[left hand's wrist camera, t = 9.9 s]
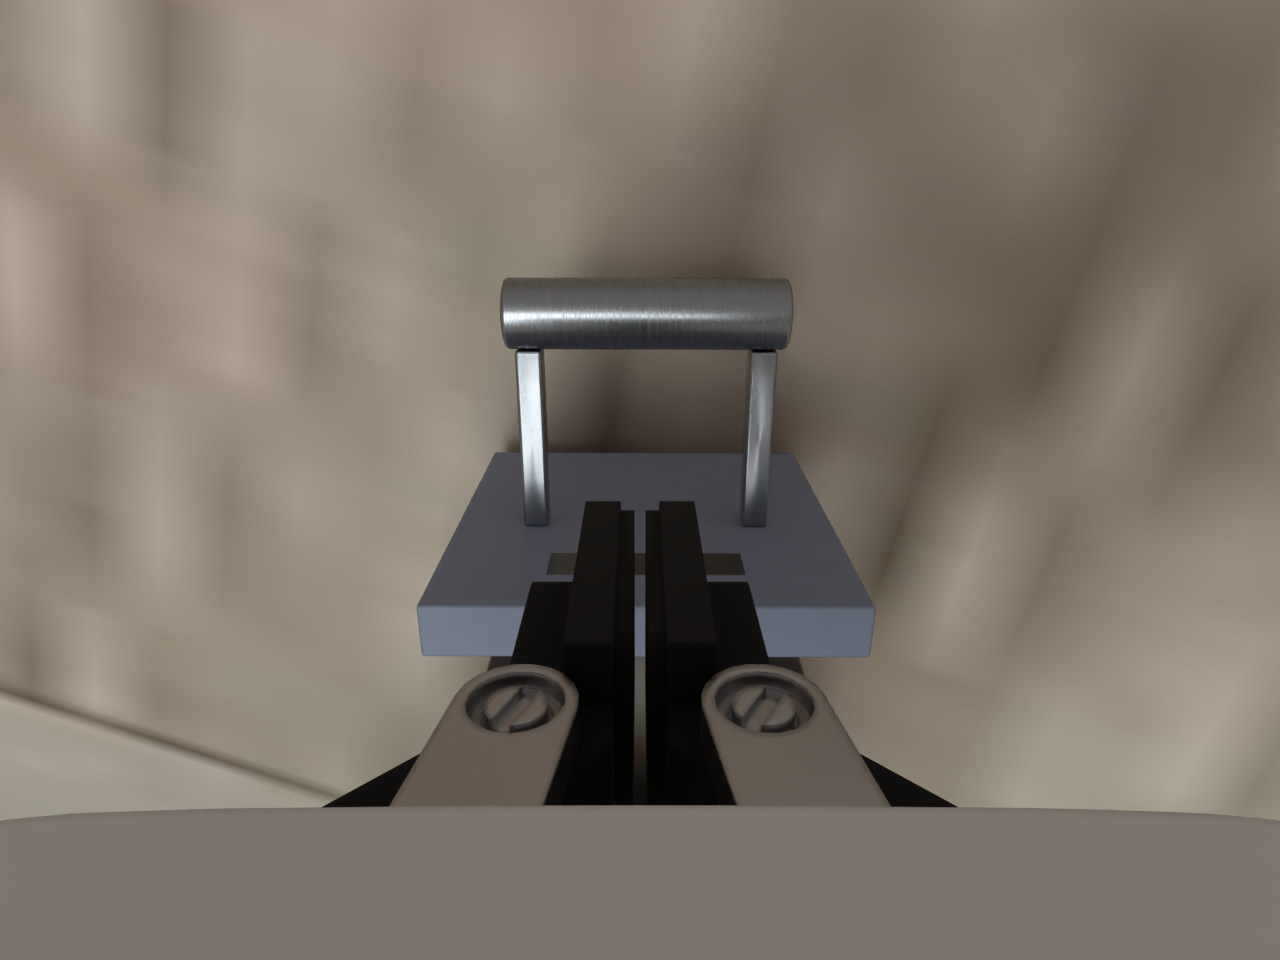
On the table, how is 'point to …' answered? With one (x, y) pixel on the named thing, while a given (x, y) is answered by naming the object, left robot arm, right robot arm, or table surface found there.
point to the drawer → (647, 484)
